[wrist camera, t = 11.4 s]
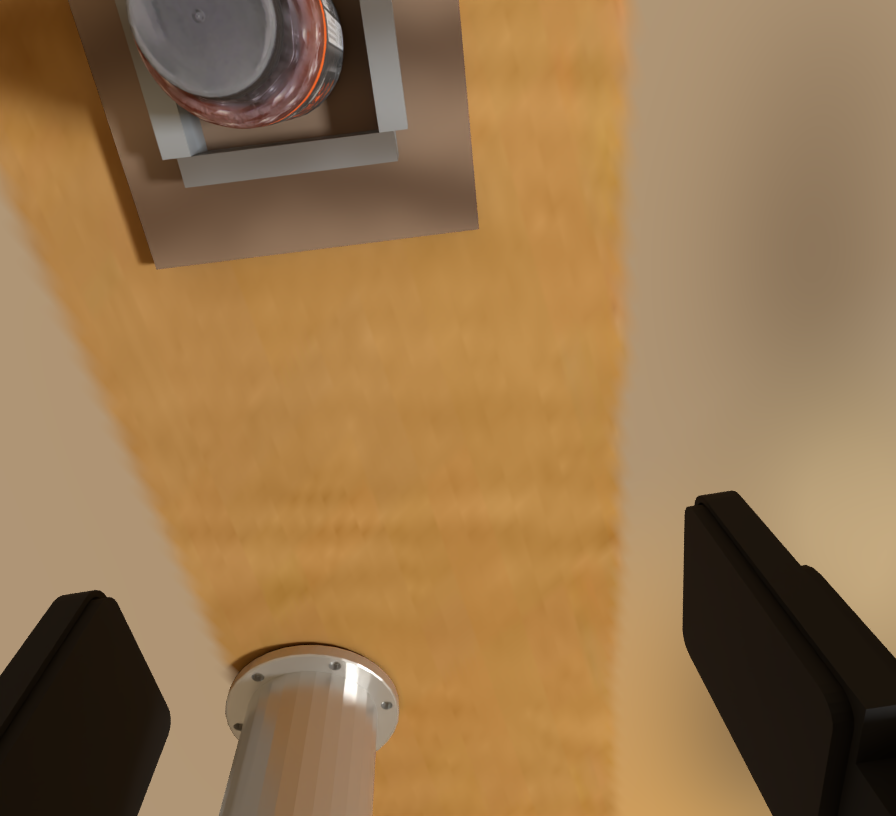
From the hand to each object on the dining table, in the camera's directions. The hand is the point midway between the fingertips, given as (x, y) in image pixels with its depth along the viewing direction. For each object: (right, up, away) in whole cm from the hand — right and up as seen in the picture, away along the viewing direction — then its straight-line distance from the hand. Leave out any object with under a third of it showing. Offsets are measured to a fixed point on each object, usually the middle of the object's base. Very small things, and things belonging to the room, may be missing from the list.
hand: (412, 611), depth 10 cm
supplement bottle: (-7, +19, +17) cm, 26 cm away
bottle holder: (-7, +20, +18) cm, 27 cm away
